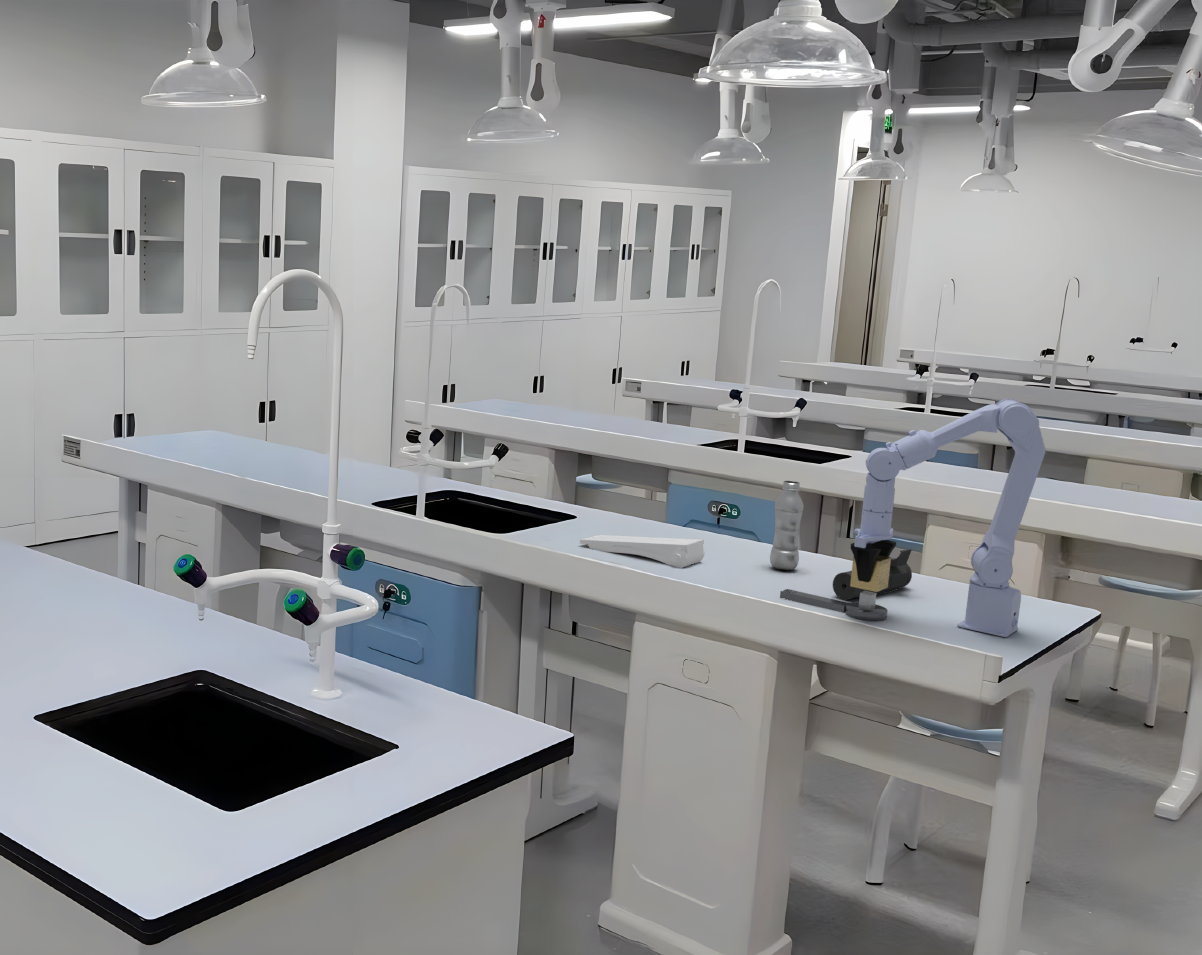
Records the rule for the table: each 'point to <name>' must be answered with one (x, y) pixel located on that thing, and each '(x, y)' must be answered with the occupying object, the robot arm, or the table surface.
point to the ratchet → (842, 604)
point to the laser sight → (897, 579)
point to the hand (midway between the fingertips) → (869, 578)
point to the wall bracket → (651, 548)
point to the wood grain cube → (873, 575)
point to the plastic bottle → (787, 527)
